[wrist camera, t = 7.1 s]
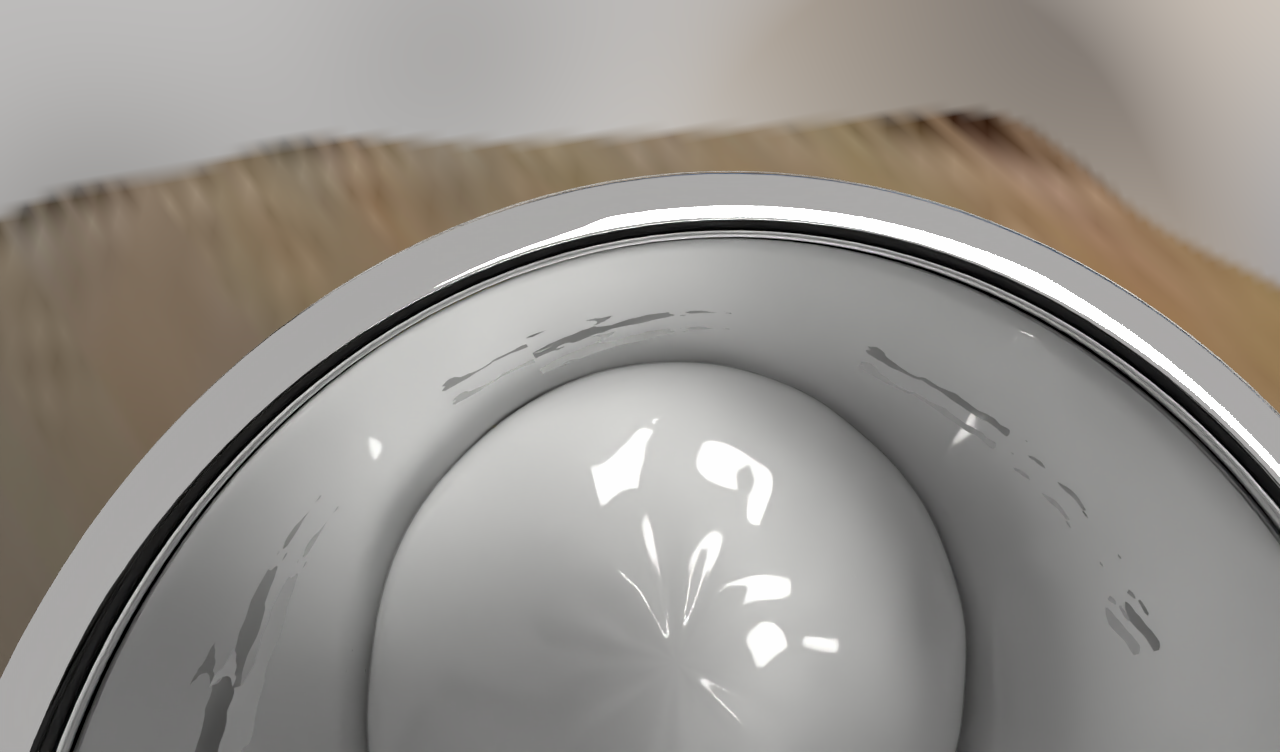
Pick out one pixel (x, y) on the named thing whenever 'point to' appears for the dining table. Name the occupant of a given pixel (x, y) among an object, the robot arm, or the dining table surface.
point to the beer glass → (688, 503)
